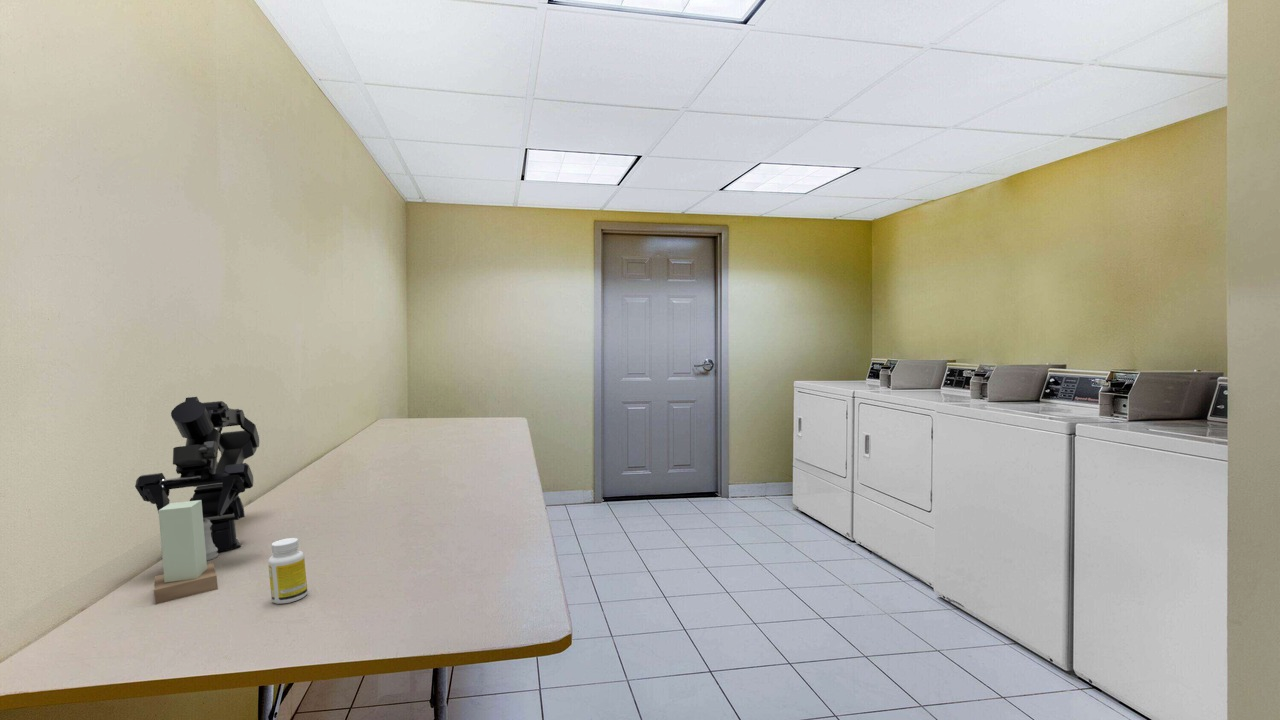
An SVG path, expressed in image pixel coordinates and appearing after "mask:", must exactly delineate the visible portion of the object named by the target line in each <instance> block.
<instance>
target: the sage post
mask: <svg viewBox="0 0 1280 720" xmlns="http://www.w3.org/2000/svg"><path fill="white" fill-rule="evenodd" d="M157 513H159V514H158V520H159V522H158V523H159V524H158V525H159V534H160V544H161V545H160V546H161V556H162V566H163V574H164V581H165V583H166V582H173V581H181V580H189V579H196V578H198V577H199V576H200V575H201V574H202V573H203V572H204V571H205V570H206V569H207V564H208V562H207V560H206V548H205V536H204V524H203V513H202V501H201V500H197V501H190V500H189V501H180V502H179V501H177V502H171V503H170V502H169V504H168V505H166V506H165V507H163V508H162V509H160V510H157Z"/></svg>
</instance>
